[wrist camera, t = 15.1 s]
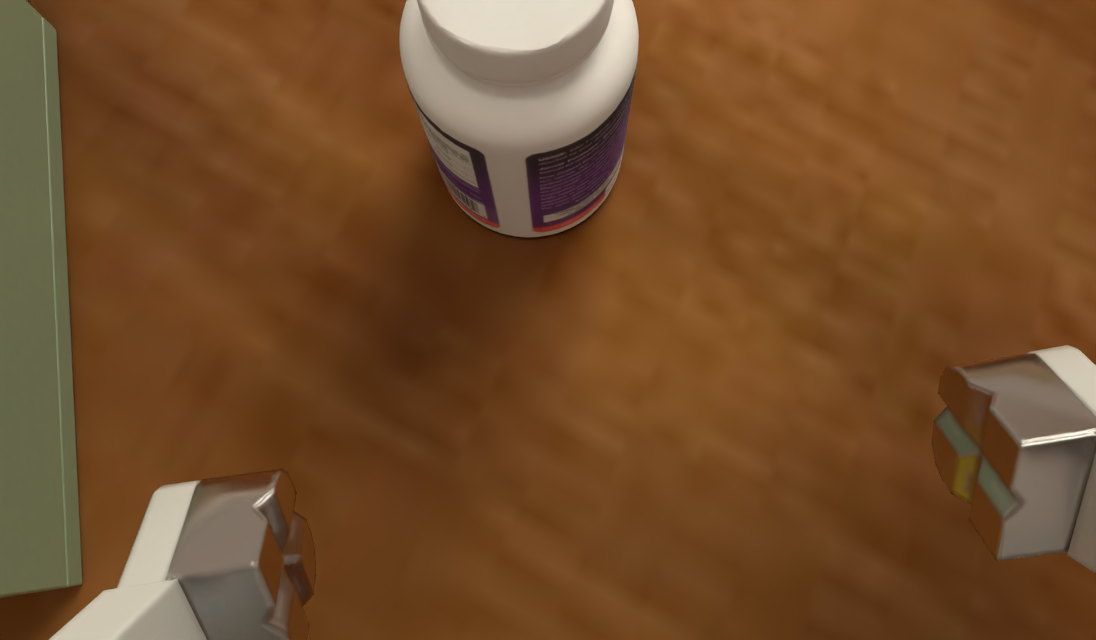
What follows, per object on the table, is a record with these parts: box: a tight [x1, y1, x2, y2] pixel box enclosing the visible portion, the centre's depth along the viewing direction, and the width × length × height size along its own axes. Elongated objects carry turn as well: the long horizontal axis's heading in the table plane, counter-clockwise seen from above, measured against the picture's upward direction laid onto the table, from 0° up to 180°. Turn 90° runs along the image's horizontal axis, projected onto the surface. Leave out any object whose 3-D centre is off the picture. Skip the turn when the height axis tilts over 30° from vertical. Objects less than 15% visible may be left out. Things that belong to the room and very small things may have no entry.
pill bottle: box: [400, 0, 639, 237], centre depth 23 cm, size 5×5×10 cm
